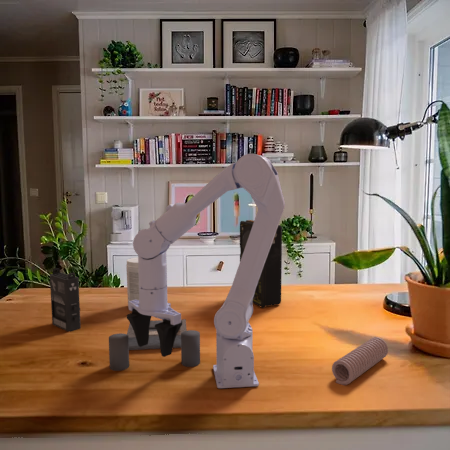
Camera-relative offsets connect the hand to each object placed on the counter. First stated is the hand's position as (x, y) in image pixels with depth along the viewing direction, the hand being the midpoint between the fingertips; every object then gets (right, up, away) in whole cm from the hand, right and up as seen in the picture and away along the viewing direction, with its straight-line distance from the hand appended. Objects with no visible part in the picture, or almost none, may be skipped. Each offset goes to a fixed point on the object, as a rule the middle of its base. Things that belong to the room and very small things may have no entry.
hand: (154, 350), depth 92 cm
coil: (+43, -4, 0) cm, 43 cm away
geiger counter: (-27, -1, +26) cm, 38 cm away
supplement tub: (-10, +1, +42) cm, 43 cm away
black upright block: (+26, +2, +48) cm, 55 cm away
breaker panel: (-2, -2, +16) cm, 16 cm away
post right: (+7, -4, +3) cm, 9 cm away
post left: (-8, -4, +1) cm, 9 cm away
